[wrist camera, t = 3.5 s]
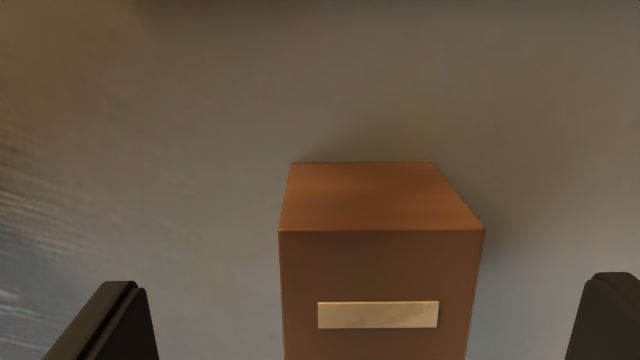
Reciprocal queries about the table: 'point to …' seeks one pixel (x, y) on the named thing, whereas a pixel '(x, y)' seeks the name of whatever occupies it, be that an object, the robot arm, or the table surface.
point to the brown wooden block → (376, 263)
